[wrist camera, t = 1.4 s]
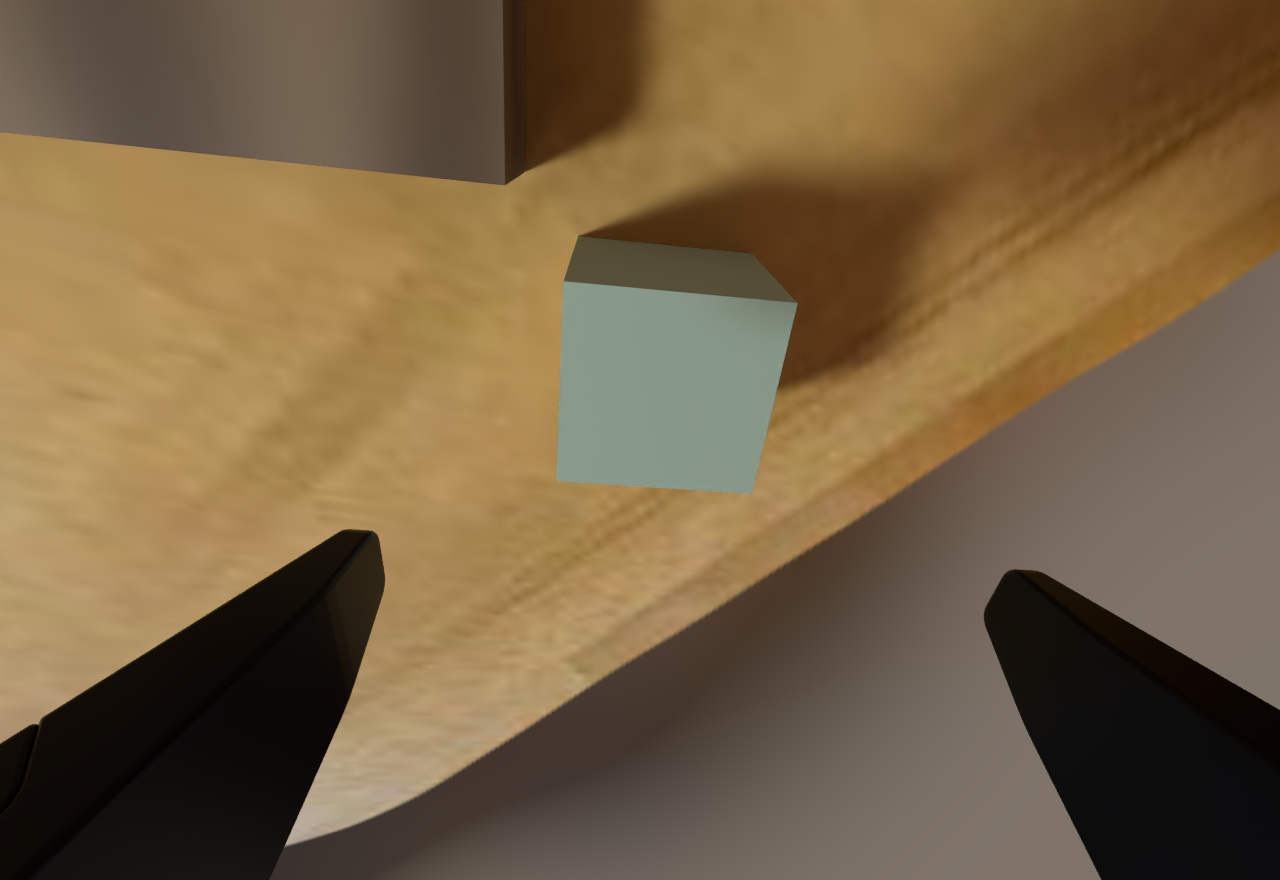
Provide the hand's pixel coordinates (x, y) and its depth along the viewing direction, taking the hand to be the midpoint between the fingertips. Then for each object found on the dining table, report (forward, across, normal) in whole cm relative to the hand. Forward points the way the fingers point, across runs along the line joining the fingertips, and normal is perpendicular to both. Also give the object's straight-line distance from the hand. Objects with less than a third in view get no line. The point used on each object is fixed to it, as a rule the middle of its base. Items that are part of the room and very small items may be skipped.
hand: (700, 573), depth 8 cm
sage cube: (+11, 0, 0) cm, 11 cm away
